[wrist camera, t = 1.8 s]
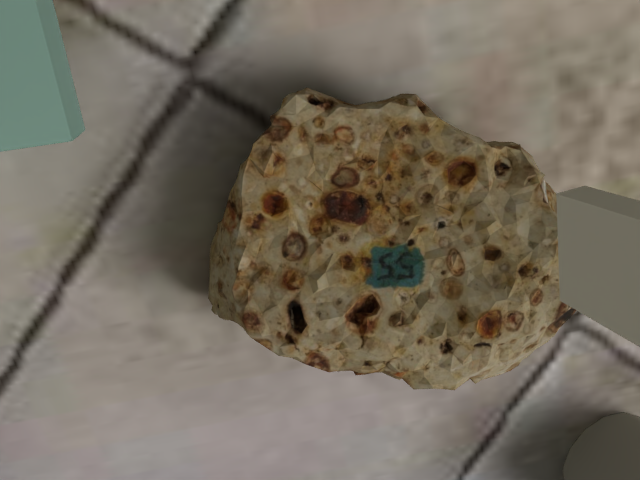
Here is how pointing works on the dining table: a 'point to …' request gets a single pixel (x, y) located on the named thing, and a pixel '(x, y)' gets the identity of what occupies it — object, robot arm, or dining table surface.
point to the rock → (388, 244)
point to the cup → (606, 450)
